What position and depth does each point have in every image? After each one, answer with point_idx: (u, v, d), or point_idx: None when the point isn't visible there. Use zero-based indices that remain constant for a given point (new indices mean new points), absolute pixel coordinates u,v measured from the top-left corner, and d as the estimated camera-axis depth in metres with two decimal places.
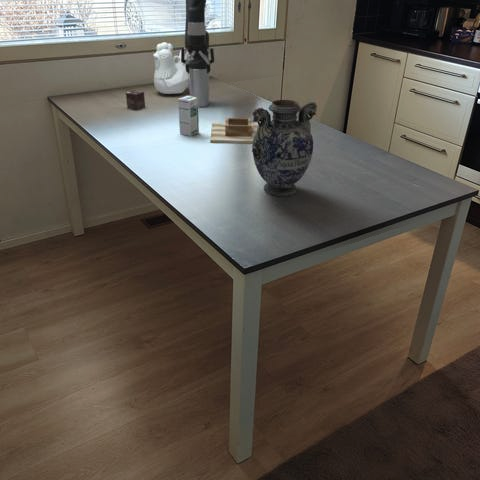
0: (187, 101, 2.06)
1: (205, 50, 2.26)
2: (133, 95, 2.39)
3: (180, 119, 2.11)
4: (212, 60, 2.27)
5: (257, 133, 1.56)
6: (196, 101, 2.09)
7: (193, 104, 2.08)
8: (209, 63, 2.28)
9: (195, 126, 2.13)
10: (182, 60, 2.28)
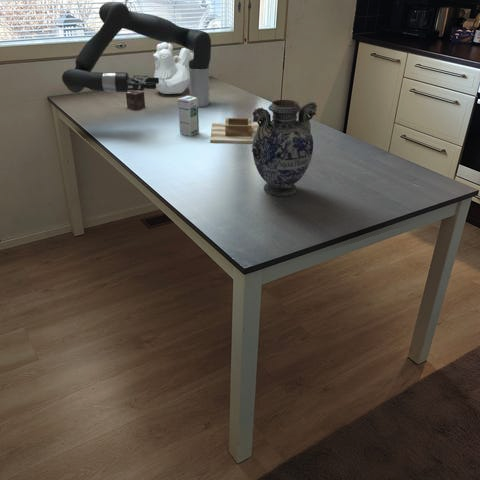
0: (187, 101, 2.06)
1: None
2: (133, 95, 2.39)
3: (180, 119, 2.11)
4: None
5: (257, 133, 1.56)
6: (196, 101, 2.09)
7: (193, 104, 2.08)
8: (144, 89, 2.03)
9: (195, 126, 2.13)
10: None
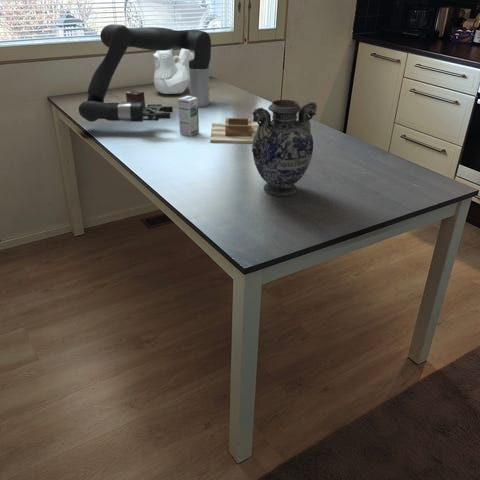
0: (187, 101, 2.06)
1: None
2: (133, 95, 2.39)
3: (180, 119, 2.11)
4: None
5: (257, 133, 1.56)
6: (196, 101, 2.09)
7: (193, 104, 2.08)
8: (159, 119, 2.07)
9: (195, 126, 2.13)
10: None
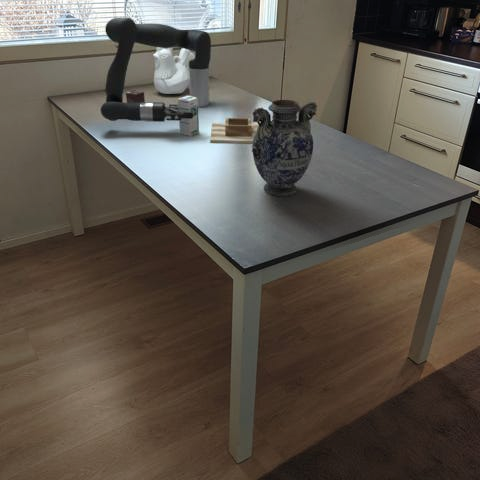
0: (187, 101, 2.06)
1: None
2: (133, 95, 2.39)
3: None
4: None
5: (257, 133, 1.56)
6: (196, 101, 2.09)
7: (193, 104, 2.08)
8: None
9: (195, 126, 2.13)
10: None
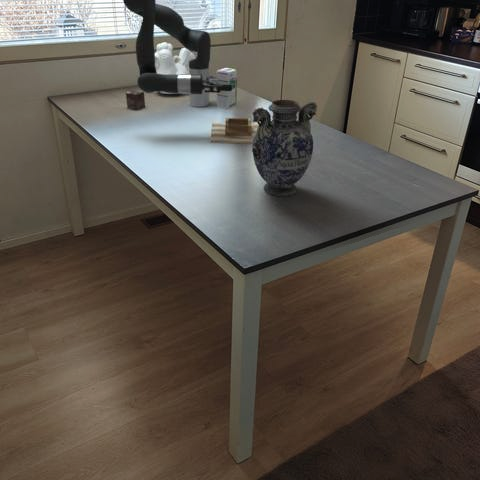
0: (226, 73, 2.00)
1: None
2: (133, 95, 2.39)
3: None
4: None
5: (257, 133, 1.56)
6: (235, 73, 2.04)
7: (232, 76, 2.03)
8: (220, 91, 2.02)
9: (233, 99, 2.08)
10: None
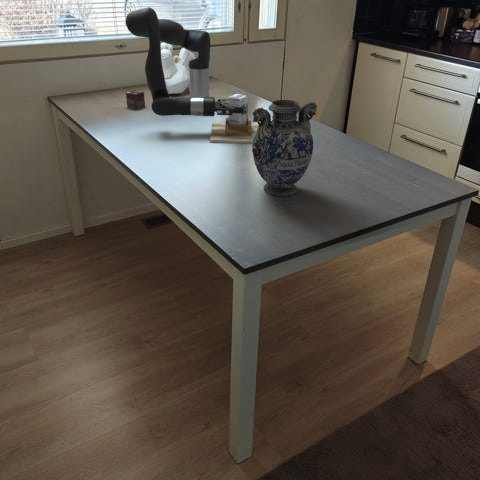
0: (238, 99, 2.06)
1: None
2: (133, 95, 2.39)
3: (230, 117, 2.11)
4: None
5: (257, 133, 1.56)
6: (246, 99, 2.09)
7: (244, 102, 2.08)
8: (232, 113, 2.07)
9: (244, 124, 2.13)
10: None
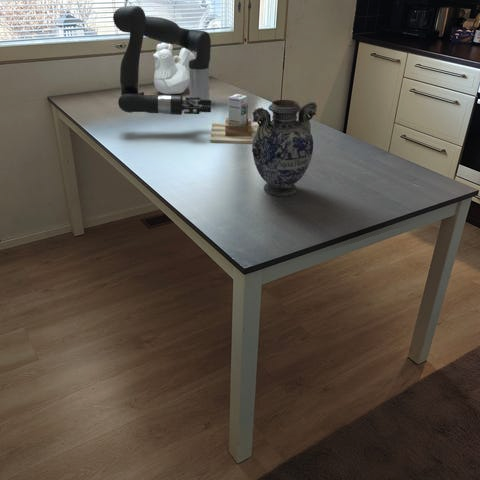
0: (238, 99, 2.06)
1: None
2: None
3: (230, 117, 2.11)
4: None
5: (257, 133, 1.56)
6: (246, 99, 2.09)
7: (244, 103, 2.08)
8: (200, 112, 2.07)
9: (244, 124, 2.13)
10: None
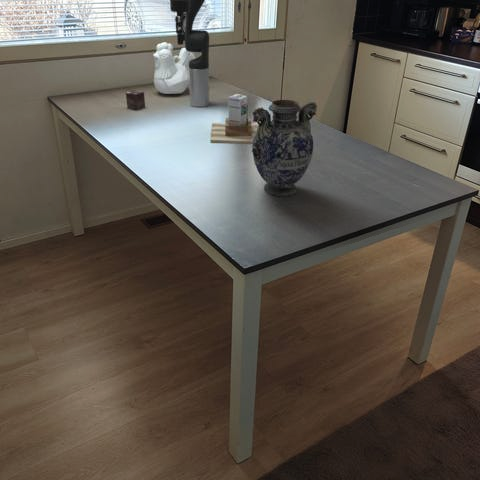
0: (238, 99, 2.06)
1: None
2: (133, 95, 2.39)
3: (230, 117, 2.11)
4: (176, 30, 2.01)
5: (257, 133, 1.56)
6: (246, 99, 2.09)
7: (244, 103, 2.08)
8: None
9: (244, 124, 2.13)
10: None
